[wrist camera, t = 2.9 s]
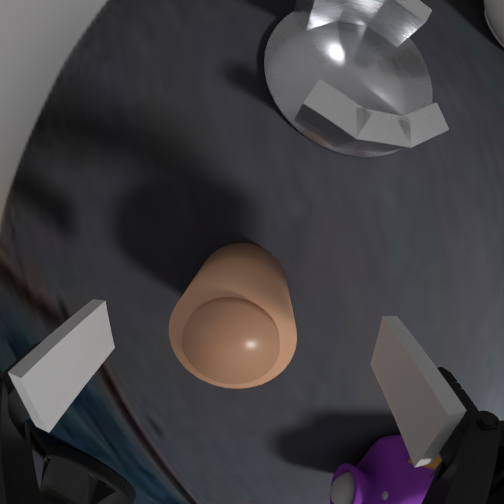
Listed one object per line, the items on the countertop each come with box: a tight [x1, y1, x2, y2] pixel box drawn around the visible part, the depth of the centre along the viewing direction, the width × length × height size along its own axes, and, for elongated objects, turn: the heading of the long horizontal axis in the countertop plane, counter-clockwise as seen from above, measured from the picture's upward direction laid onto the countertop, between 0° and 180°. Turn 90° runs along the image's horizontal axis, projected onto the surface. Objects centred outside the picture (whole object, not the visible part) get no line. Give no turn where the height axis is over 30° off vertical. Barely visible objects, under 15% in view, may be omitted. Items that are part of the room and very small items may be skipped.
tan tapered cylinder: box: [169, 243, 297, 388], centre depth 16 cm, size 6×6×8 cm
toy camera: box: [330, 435, 443, 504], centre depth 20 cm, size 11×14×10 cm
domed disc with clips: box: [264, 0, 449, 157], centre depth 13 cm, size 12×12×5 cm
